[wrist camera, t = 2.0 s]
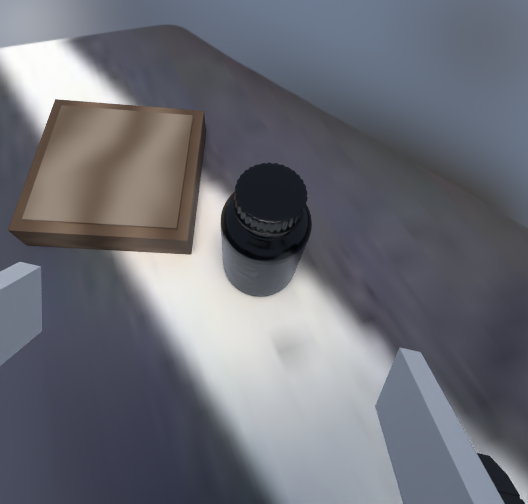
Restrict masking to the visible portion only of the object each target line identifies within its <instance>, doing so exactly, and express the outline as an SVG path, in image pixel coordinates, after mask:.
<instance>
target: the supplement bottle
mask: <svg viewBox="0 0 528 504" xmlns="http://www.w3.org/2000/svg"><path fill="white" fill-rule="evenodd" d="M306 202H307V190H306V186H305V184H304V183H303V180H302V179H301V178H300V176H299V175H298V174H296V173H295V171H293V170H291V169H290V168H289V167H285V166H284V165H279V164H277V163H274V164H272V163H266V164H265V163H262V164H260V165H255V166H254V167H250V168H249V169H248V170H246V171H245V172H244V173H243V174H242V175H241V176H240V178H239V179H238V180H237V184H236V186H235V192H234V193H233V194H232V195H231V196H230V197H229V198H228V200H227V201H226V203H225V205H224V207H223V210H222V214H221V236H222V251H223V264H224V269H225V272H226V275H227V277H228V279H229V280H230V282H231V283H232V284H233V285H234V286H235V287H236V288H238V289H239V290H241V291H242V292H244V293H247V294H250V295H254V296H266V295H271V294H274V293H276V292H278V291H280V290H282V289H283V288H284V287H285V286H286V285H287V284H288V283H289V282H290V280H291V279H292V277H293V275H294V273H295V270H296V268H297V266H298V263H299V261H300V259H301V256H302V254H303V251H304V249H305V247H306V244H307V242H308V239H309V236H310V233H311V227H312V221H311V215H310V211H309V209H308V207H307V205H306Z"/></svg>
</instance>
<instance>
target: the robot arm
mask: <svg viewBox="0 0 528 504" xmlns="http://www.w3.org/2000/svg"><path fill="white" fill-rule="evenodd" d="M41 331H42V319H41V267H40V266H36V265H32V264H27V263H23V262H18V263H17V264H15V265H13V266H11V267H9V268H7V269H5V270H3V271H1V272H0V366H1V365H2V364H3V363H4V362H5V361H7V360H8V359H9V358H10V357H11V356H13V355H14V354H15V353H16V352H17V351H19V350H20V349H21V348H22V347H23V346H25V345H26V344H27V343H28V342H29V341H31V340H32V339H33V338H34V337H35V336H37V335H38V334H39V333H40V332H41ZM375 407H376V411H377V414H378V418H379V421H380V425H381V428H382V431H383V435H384V438H385V442H386V445H387V449H388V452H389V456H390V459H391V462H392V466H393V469H394V473H395V476H396V480H397V483H398V487H399V490H400V493H401V497H402V500H403V504H525V503H524V502H523V500H522V499H520V495H519V493H518V492H517V490H516V488H515V487H514V485H513V483H512V482H511V480H510V478H509V477H508V475H507V474H506V473H505V472H504V471H503V470H502V469H501V468H500V467H499V466H498V464H497V463H496V462H495V461H494V460H493V459H492V458H491V457H490V456H488V455H483V454H479V453H476V451H475V449H474V448H473V446H472V444H471V442H470V440H469V439H468V437H467V435H466V433H465V431H464V430H463V428H462V426H461V424H460V422H459V421H458V419H457V417H456V415H455V413H454V412H453V410H452V408H451V406H450V404H449V403H448V401H447V399H446V397H445V395H444V394H443V392H442V390H441V388H440V386H439V385H438V383H437V381H436V379H435V377H434V376H433V374H432V372H431V370H430V368H429V367H428V365H427V363H426V361H425V359H424V358H423V356H422V354H421V352H417V351H413V350H408V349H404V348H399V350H398V353H397V355H396V358H395V360H394V362H393V365H392V367H391V370H390V372H389V374H388V377H387V379H386V382H385V384H384V386H383V389H382V391H381V394H380V396H379V398H378V401H377V403H376V406H375Z"/></svg>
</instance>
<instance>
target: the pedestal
mask: <svg viewBox="0 0 528 504" xmlns="http://www.w3.org/2000/svg"><path fill="white" fill-rule="evenodd" d="M205 136H206V127H205V117H204V111H197V110H184V109H172V108H159V107H146V106H133V105H120V104H107V103H95V102H82V101H69V100H56V99H55V102H54V105H53V107H52V110H51V113H50V116H49V118H48V121H47V124H46V127H45V129H44V132H43V135H42V138H41V141H40V143H39V146H38V149H37V152H36V154H35V157H34V160H33V163H32V165H31V168H30V171H29V174H28V176H27V179H26V182H25V185H24V187H23V190H22V193H21V196H20V199H19V201H18V204H17V207H16V210H15V212H14V215H13V218H12V221H11V223H10V226H9V229H8V231H9V232H11V233H12V234H13V235H14V236H16V237H17V238H18V239H19V240H21V241H22V242H23V243H25V244H26V245H29V246H47V247H66V248H84V249H102V250H120V251H139V252H157V253H175V254H191V251H192V243H193V234H194V226H195V218H196V210H197V201H198V193H199V185H200V177H201V169H202V160H203V152H204V144H205Z"/></svg>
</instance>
